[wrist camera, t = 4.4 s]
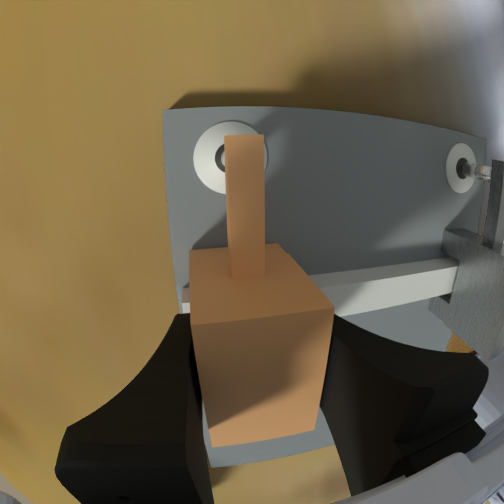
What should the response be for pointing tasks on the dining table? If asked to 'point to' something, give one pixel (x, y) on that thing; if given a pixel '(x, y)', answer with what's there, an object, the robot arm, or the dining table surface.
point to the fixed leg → (478, 273)
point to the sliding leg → (255, 318)
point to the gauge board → (331, 219)
